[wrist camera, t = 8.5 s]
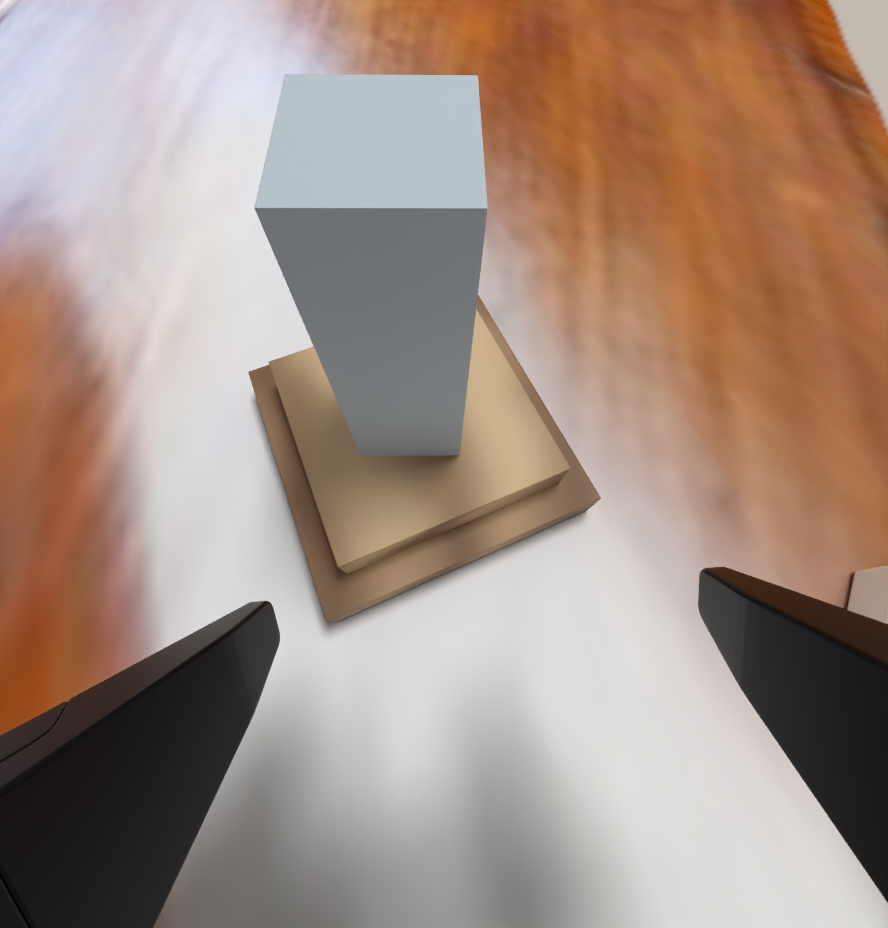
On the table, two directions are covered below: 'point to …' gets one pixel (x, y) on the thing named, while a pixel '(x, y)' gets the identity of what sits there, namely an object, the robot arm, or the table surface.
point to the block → (382, 245)
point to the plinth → (434, 551)
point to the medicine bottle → (870, 593)
